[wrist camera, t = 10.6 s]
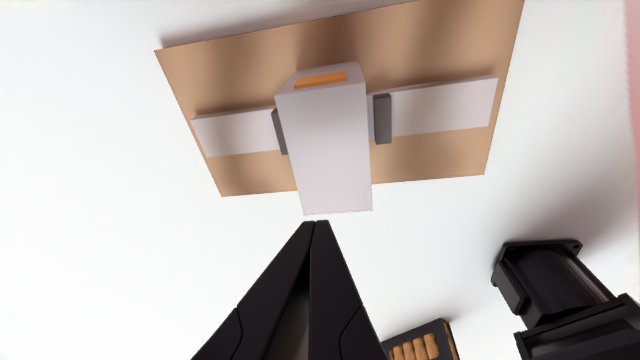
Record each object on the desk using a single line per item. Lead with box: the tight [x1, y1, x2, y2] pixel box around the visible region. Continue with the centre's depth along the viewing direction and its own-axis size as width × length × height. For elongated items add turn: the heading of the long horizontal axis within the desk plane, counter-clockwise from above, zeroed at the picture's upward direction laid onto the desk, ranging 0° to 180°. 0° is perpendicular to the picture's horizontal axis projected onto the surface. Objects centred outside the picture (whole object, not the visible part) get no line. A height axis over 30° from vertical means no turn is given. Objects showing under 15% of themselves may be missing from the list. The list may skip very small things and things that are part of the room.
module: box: [274, 61, 373, 215], centre depth 15 cm, size 4×7×6 cm, turn 9°
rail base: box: [154, 0, 525, 197], centre depth 17 cm, size 22×12×3 cm, turn 99°
